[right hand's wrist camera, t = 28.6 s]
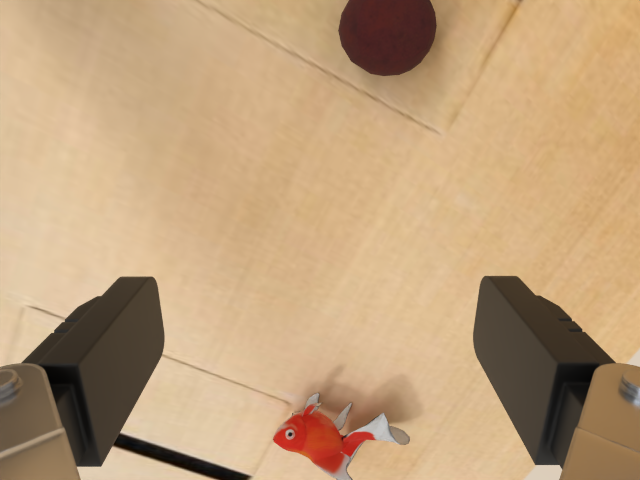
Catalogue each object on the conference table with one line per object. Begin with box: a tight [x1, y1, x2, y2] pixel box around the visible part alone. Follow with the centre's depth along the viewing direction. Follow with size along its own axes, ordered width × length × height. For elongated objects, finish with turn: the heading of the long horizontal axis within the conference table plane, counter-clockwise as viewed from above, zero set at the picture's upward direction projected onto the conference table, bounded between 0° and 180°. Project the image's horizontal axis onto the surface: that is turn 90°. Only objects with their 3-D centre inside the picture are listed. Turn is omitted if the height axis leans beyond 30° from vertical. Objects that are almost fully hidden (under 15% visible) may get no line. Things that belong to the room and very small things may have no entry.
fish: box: [273, 393, 410, 480], centre depth 51 cm, size 11×16×10 cm
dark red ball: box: [338, 0, 436, 76], centre depth 36 cm, size 7×8×7 cm
